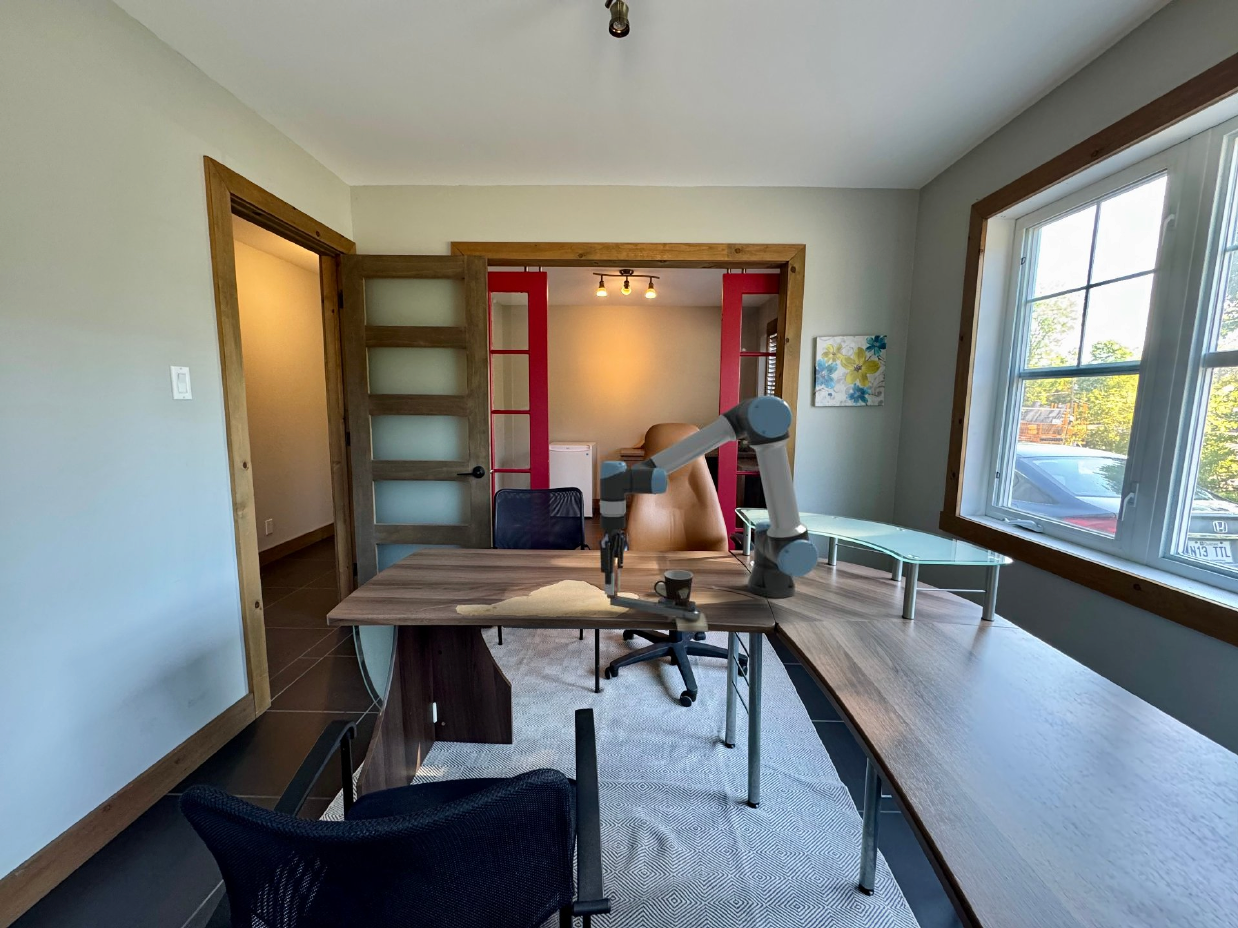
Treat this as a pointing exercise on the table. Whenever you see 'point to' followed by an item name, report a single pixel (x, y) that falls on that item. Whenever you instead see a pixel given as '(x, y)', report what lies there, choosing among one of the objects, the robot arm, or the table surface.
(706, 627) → the pivot pedestal
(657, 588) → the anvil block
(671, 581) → the coffee mug
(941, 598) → the table surface
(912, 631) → the table surface
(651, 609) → the lever
